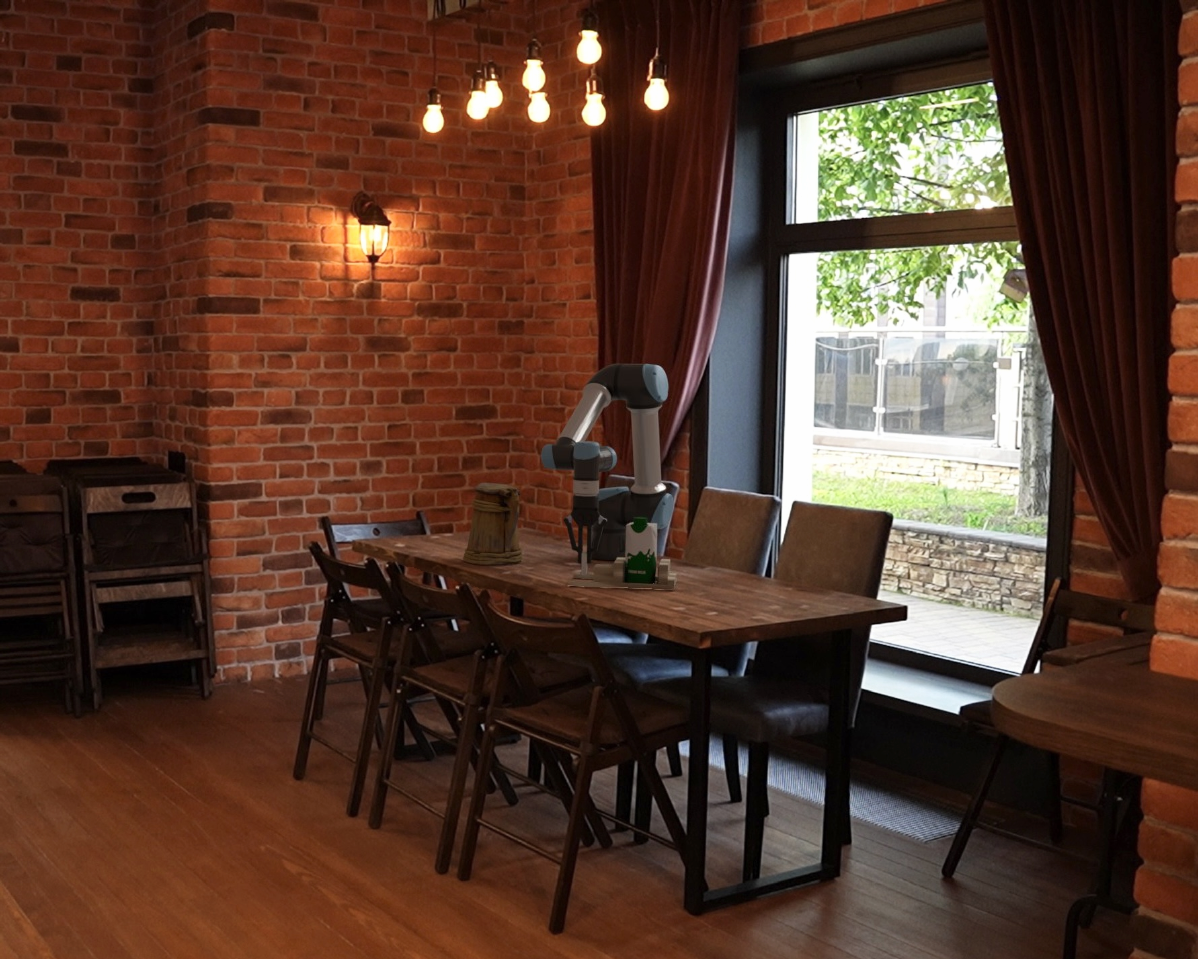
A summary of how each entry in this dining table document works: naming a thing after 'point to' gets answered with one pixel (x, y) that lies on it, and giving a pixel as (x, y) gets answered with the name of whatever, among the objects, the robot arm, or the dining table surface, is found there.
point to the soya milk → (641, 551)
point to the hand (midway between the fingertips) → (584, 574)
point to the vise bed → (664, 581)
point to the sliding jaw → (611, 572)
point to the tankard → (494, 526)
